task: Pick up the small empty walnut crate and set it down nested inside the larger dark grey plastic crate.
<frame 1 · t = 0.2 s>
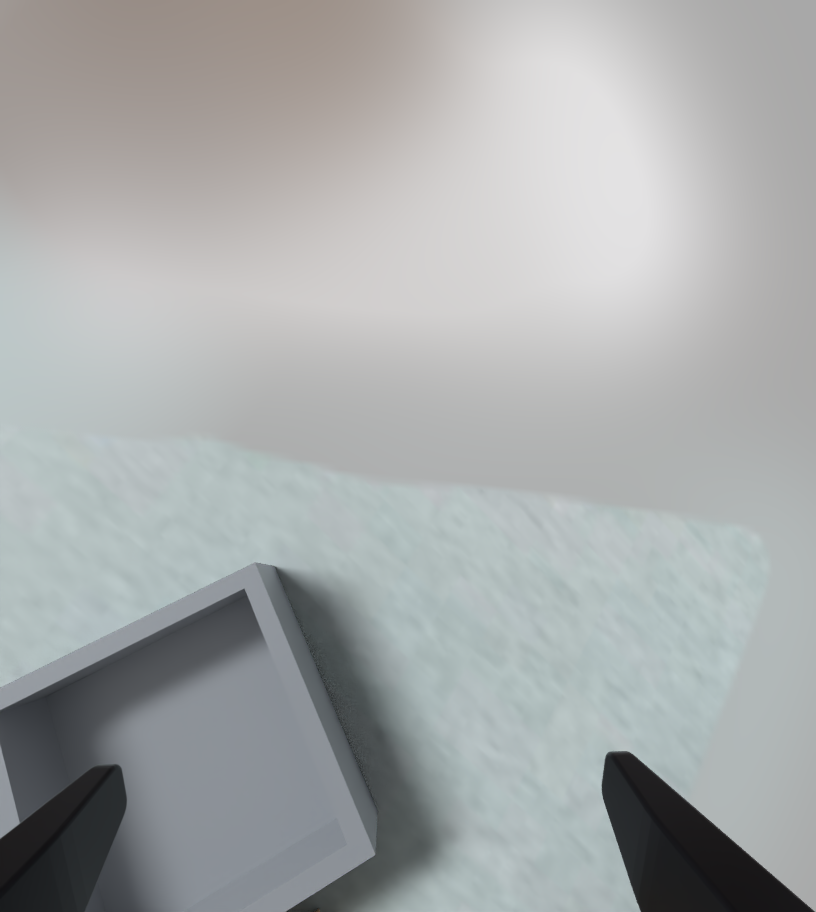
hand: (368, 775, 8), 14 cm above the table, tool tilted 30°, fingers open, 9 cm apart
grey crate: (202, 747, 21), on the table
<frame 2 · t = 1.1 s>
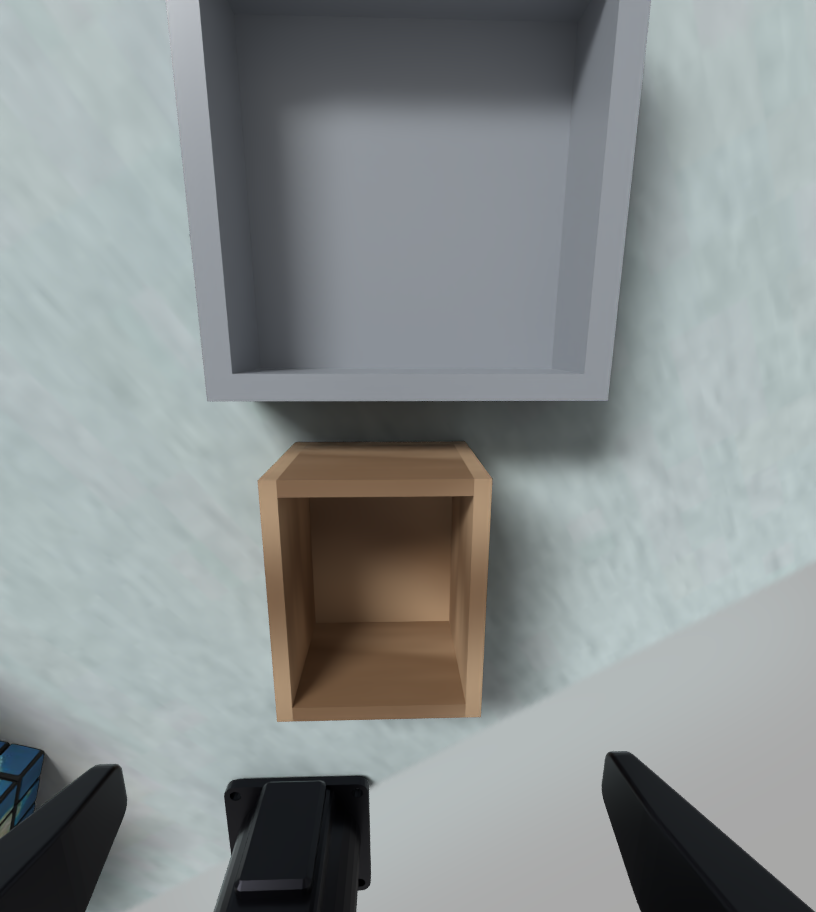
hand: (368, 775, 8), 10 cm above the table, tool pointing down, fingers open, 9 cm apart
grey crate: (407, 213, 16), on the table
walnut crate: (381, 538, 18), on the table
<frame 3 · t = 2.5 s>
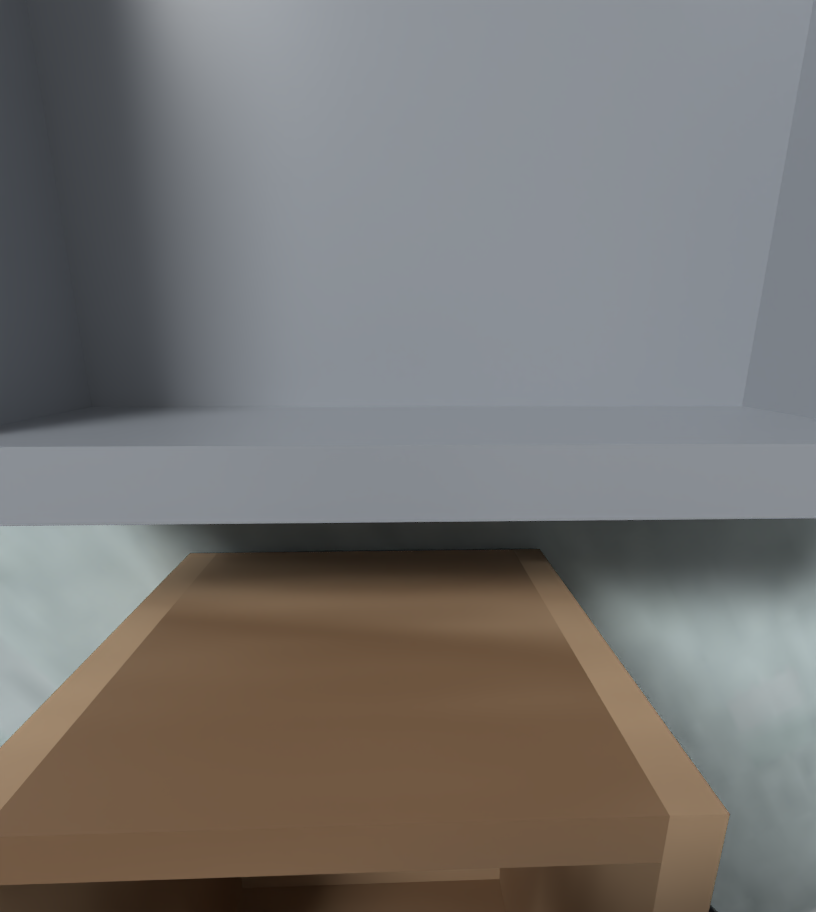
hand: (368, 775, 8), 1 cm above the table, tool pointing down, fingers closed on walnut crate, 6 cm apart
grey crate: (425, 44, 7), on the table
walnut crate: (370, 729, 9), on the table, touching gripper
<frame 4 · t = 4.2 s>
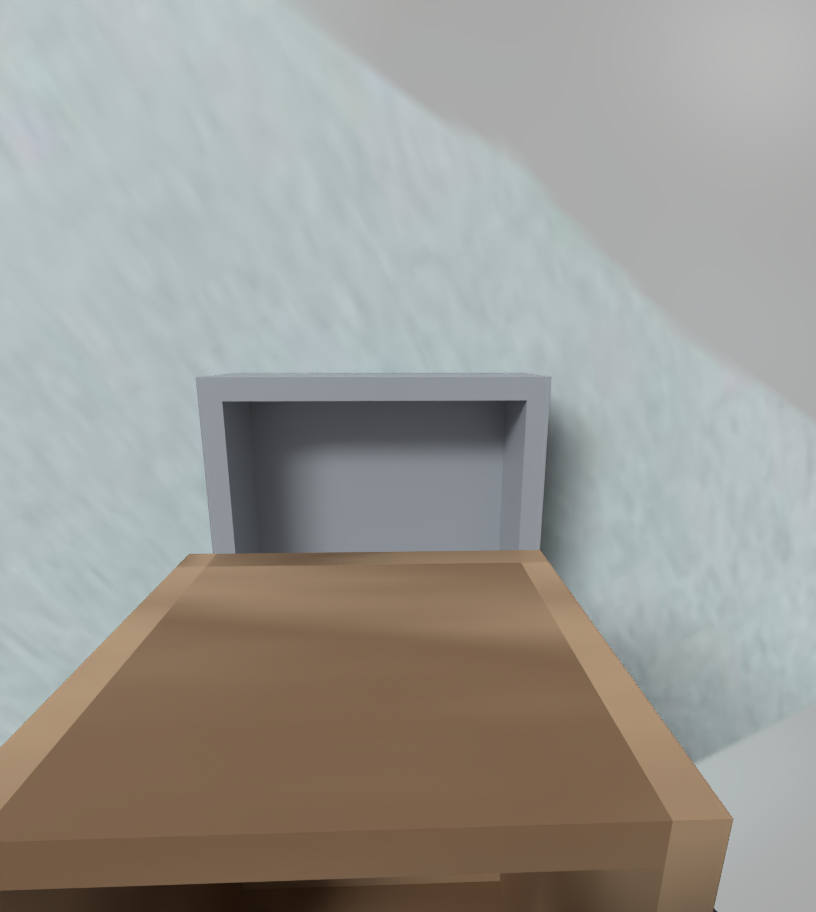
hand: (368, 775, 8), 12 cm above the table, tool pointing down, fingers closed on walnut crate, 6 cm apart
grey crate: (380, 511, 20), on the table
walnut crate: (370, 730, 9), point 11 cm above the table, touching gripper
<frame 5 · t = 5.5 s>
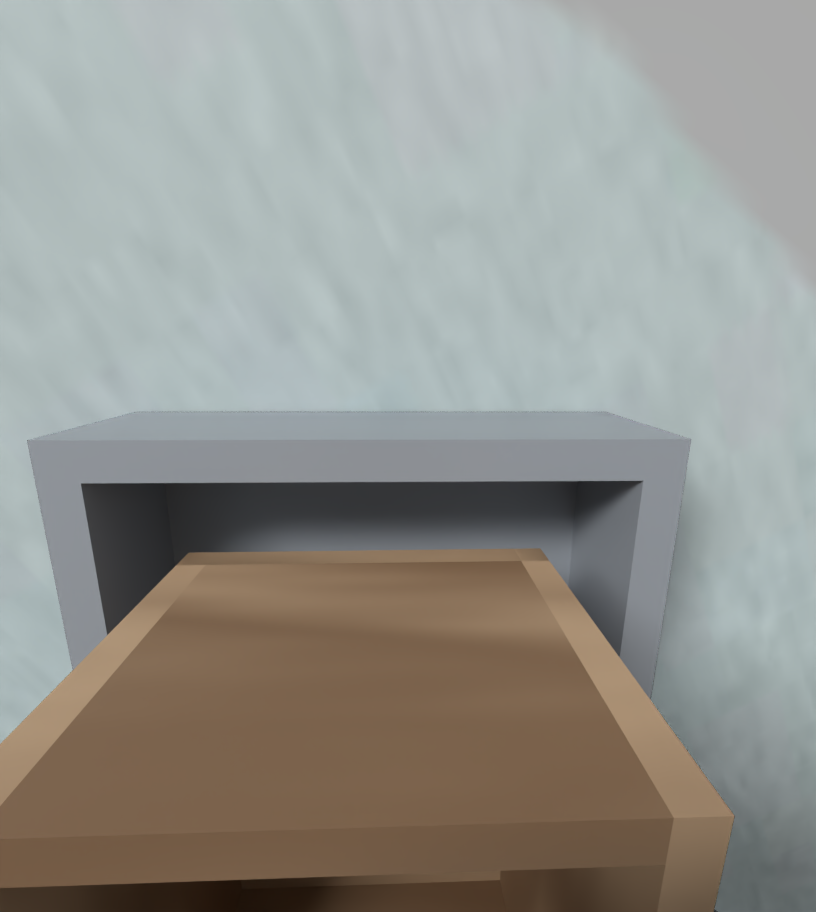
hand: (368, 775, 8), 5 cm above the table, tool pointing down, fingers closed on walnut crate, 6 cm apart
grey crate: (377, 619, 13), on the table
walnut crate: (370, 729, 9), point 4 cm above the table, touching gripper
when the fingers open (4 cm above the table, at t = 6.2 s): walnut crate drops 2 cm, resting on grey crate.
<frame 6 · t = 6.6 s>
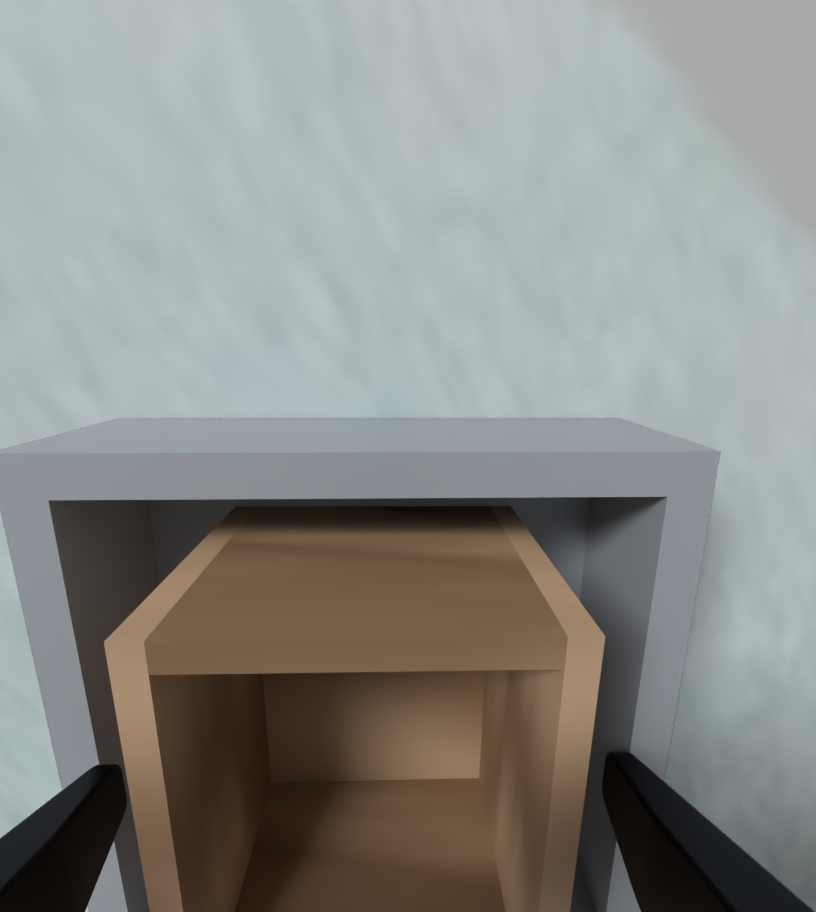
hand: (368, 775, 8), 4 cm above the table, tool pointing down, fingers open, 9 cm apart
grey crate: (375, 638, 12), on the table
walnut crate: (375, 653, 12), point 1 cm above the table, touching grey crate
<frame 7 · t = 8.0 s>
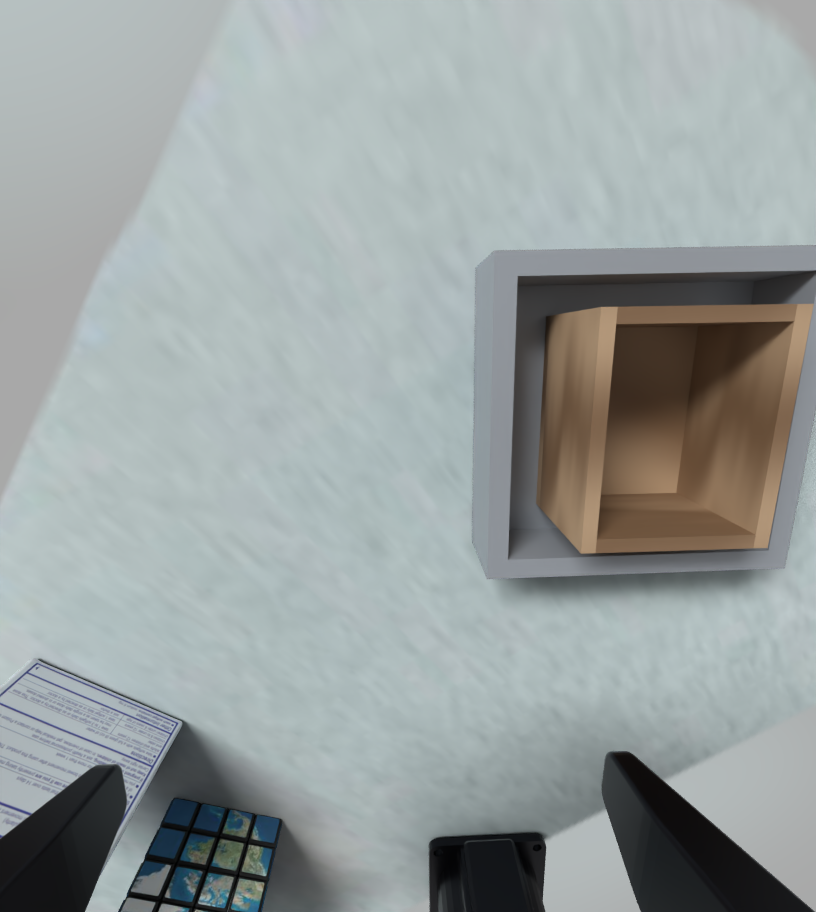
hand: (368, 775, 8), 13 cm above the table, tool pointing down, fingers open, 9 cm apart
medicine box: (98, 714, 23), on the table
grey crate: (609, 410, 20), on the table
walnut crate: (616, 412, 19), point 1 cm above the table, touching grey crate
puzzle: (219, 843, 26), on the table
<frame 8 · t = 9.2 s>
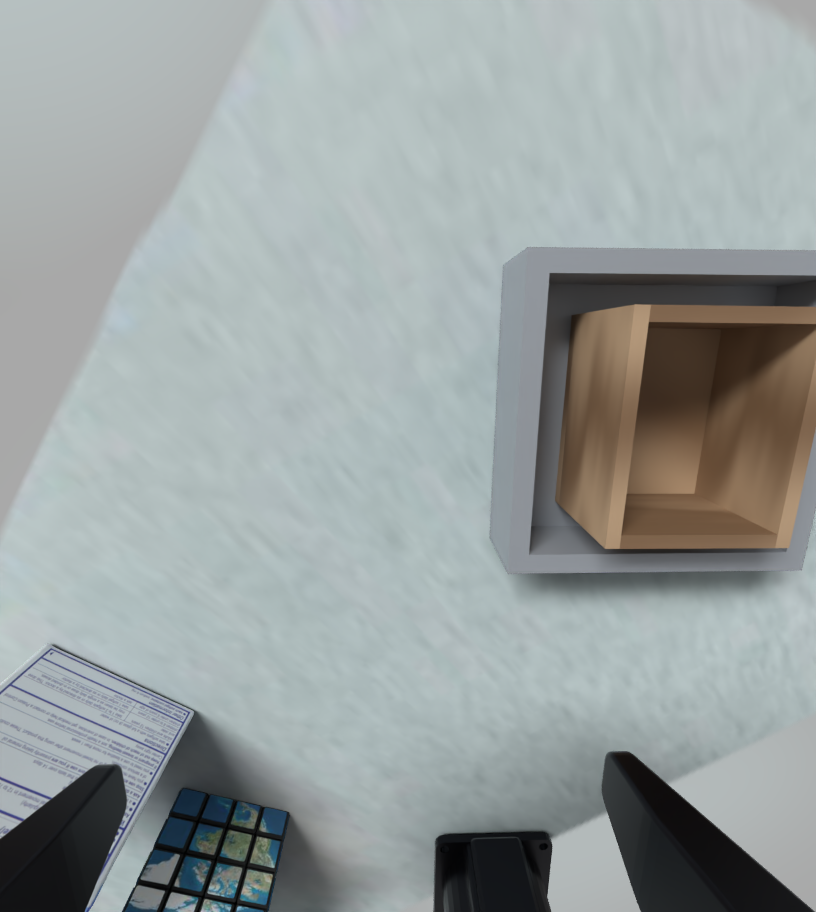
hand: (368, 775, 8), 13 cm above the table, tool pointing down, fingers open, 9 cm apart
medicine box: (110, 702, 23), on the table
grey crate: (629, 410, 20), on the table
walnut crate: (637, 412, 20), point 1 cm above the table, touching grey crate
puzzle: (225, 835, 26), on the table
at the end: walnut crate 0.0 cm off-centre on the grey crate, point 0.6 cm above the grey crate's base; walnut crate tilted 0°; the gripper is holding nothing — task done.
